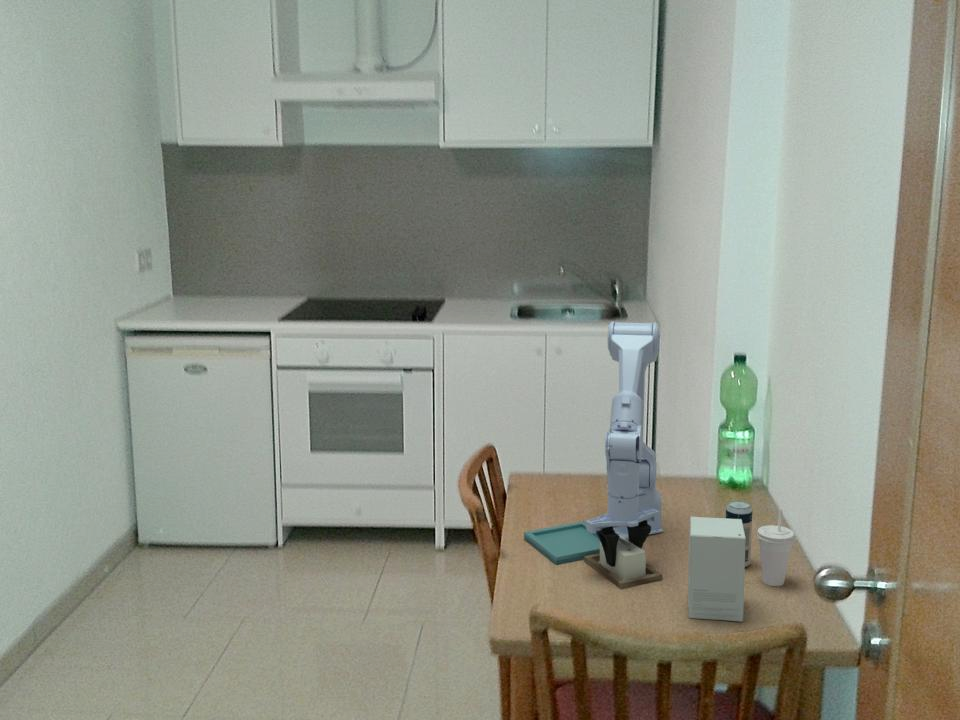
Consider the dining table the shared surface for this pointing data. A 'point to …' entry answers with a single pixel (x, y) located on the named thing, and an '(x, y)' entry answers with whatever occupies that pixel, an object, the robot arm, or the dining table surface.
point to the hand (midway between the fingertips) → (622, 562)
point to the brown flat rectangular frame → (616, 580)
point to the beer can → (745, 513)
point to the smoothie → (775, 551)
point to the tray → (564, 542)
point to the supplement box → (716, 568)
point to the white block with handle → (626, 560)
